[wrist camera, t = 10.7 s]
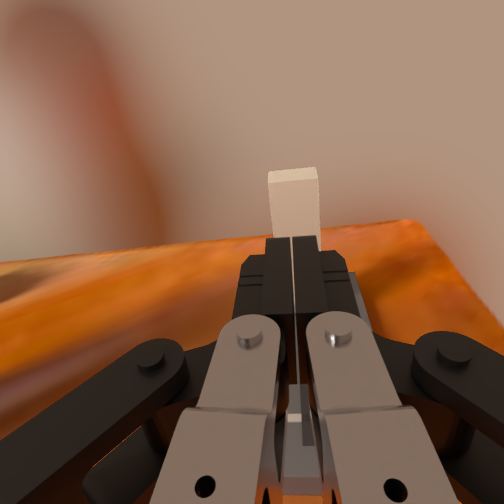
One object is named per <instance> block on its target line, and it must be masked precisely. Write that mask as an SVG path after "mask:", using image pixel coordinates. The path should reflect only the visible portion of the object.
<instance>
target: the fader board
mask: <svg viewBox="0 0 504 504" xmlns="http://www.w3.org/2000/svg"><path fill="white" fill-rule="evenodd" d="M348 273H349V277H350V282H351V284H352V288H353V291H354V295H355V299H356V302H357V306H358V309H359V313H360V317H361V319H362V320H364V321H365V322H366V323H367V324H368V326H369V327H370V329H371V331H372V332H373V330H372V327H371V324H370V321H369V317H368V314H367V311H366V308H365V304H364V301H363V298H362V295H361V291H360V288H359V285H358V282H357V278H356V275H355V272H348ZM294 314H295V338H296V361H297V384H289V405H288V422H287V436H286V450H285V464H284V479H283V495H322V489H321V482H320V476H319V470H318V463H317V457H316V450H315V444H314V438H313V431H312V425H311V418H310V406H309V391H308V384H300V374H299V359H298V343H297V327H296V313H294Z"/></svg>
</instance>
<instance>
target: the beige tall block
mask: <svg viewBox="0 0 504 504" xmlns="http://www.w3.org/2000/svg"><path fill="white" fill-rule="evenodd" d="M268 191H269V200H270V208H271V218H272V227H273V236H274V238H279V237H290V244H291V259H292V275H293V291H294V313H296V311H295V289H294V268H293V246H292V237H294V236H310V235H316V238H317V244H318V250H319V251H321V236H320V213H319V212H320V211H319V188H318V176H317V172H316V168H315V167H310V168H299V169H289V170H280V171H271V172H269V175H268Z"/></svg>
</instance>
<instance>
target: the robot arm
mask: <svg viewBox="0 0 504 504" xmlns="http://www.w3.org/2000/svg"><path fill="white" fill-rule="evenodd" d="M292 246H293V268H294V289H295V311H296V327H297V343H298V359H299V374H300V384H308V391H309V406H310V418H311V425H312V431H313V438H314V444H315V450H316V457H317V463H318V470H319V476H320V482H321V489H322V496H323V504H459V502H458V500H459V501H460V502H461V503H462V504H504V356H503V355H501V354H499V353H497V352H495V351H493V350H492V349H490V348H488V347H486V346H484V345H482V344H481V343H479V342H477V341H475V340H473V339H471V338H469V337H467V336H464V335H461V334H458V333H454V332H448V331H435V332H430V333H427V334H424V335H423V336H421V337H420V338H419V339H418V340H417V341H416V343H415V345H411V344H406V343H402V342H397V341H393V340H389V339H386V338H383V337H381V336H379V335H377V334H375V333H374V332H372V331H371V329H370V327H369V326H368V324H367V323H366V322H365V321H364V320H362V319H361V317H360V313H359V309H358V306H357V302H356V299H355V295H354V291H353V288H352V284H351V282H350V277H349V273H348V269H347V266H346V262H345V259H344V258H343V257H342V256H341V255H340V254H338V253H337V252H336V251H335V250H331V251H319V250H318V244H317V238H316V235H310V236H294V237H292ZM289 384H297V361H296V338H295V314H294V291H293V275H292V259H291V244H290V237H279V238H266V247H265V254H262V255H250V256H249V257H248V258H247V259H246V260H245V262H244V263H243V264H242V265H241V271H240V278H239V282H238V288H237V293H236V299H235V305H234V310H233V316H232V320H231V321H230V322H228V323H227V324H226V325H225V326H224V327H223V328H222V330H221V332H220V334H219V337H218V340H216V341H214V342H213V343H210V344H208V345H206V346H203V347H199V348H196V349H192V350H188V351H185V352H183V349H182V347H181V346H180V345H179V344H178V343H177V342H175V341H173V340H170V339H153V340H149V341H146V342H144V343H142V344H140V345H138V346H136V347H135V348H133V349H132V350H130V351H129V352H127V353H126V354H124V355H123V356H122V357H120V358H119V359H117V360H116V361H114V362H113V363H112V364H110V365H109V366H107V367H106V368H104V369H103V370H101V371H100V372H99V373H97V374H96V375H94V376H93V377H91V378H90V379H88V380H87V381H86V382H84V383H83V384H81V385H80V386H78V387H77V388H76V389H74V390H73V391H71V392H70V393H68V394H67V395H65V396H64V397H63V398H61V399H60V400H58V401H57V402H55V403H54V404H53V405H51V406H50V407H48V408H47V409H45V410H44V411H42V412H41V413H40V414H38V415H37V416H35V417H34V418H32V419H31V420H29V421H28V422H27V423H25V424H24V425H22V426H21V427H19V428H18V429H17V430H15V431H14V432H12V433H11V434H9V435H8V436H6V437H5V438H4V439H2V440H1V441H0V504H282V499H283V479H284V464H285V450H286V436H287V422H288V405H289ZM138 427H139V428H138ZM137 428H138V429H137ZM136 429H137V430H136ZM135 430H136V431H135ZM134 431H135V432H134ZM131 433H132V434H131ZM130 434H131V435H130ZM129 435H130V436H129ZM128 436H129V437H128ZM127 437H128V438H127ZM124 439H125V440H124ZM123 440H124V441H123ZM122 441H123V442H122ZM121 442H122V443H121ZM120 443H121V444H120ZM118 444H119V445H118ZM117 445H118V446H117ZM116 446H117V447H116ZM115 447H116V448H115ZM114 448H115V449H114ZM113 449H114V450H113ZM111 450H112V451H111ZM110 451H111V452H110ZM109 452H110V453H109ZM108 453H109V454H108ZM107 454H108V455H107ZM106 455H107V456H106ZM104 456H105V457H104ZM103 457H104V458H103ZM102 458H103V459H102ZM101 459H102V460H101ZM100 460H101V461H100ZM99 461H100V462H99ZM97 462H98V463H97ZM96 463H97V464H96ZM95 464H96V465H95ZM94 465H95V466H94ZM93 466H94V467H93ZM92 467H93V468H92ZM457 499H458V500H457Z"/></svg>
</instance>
